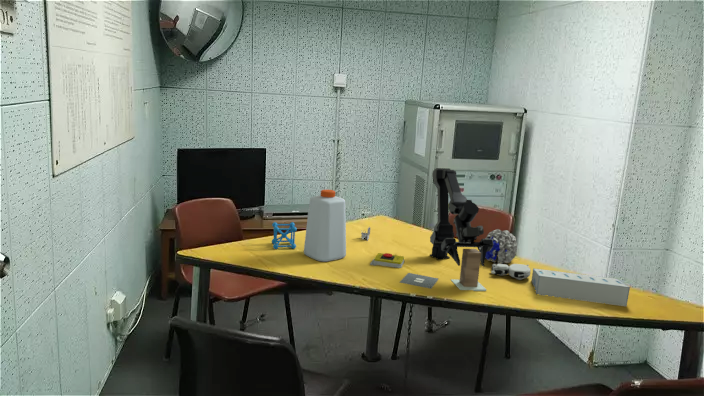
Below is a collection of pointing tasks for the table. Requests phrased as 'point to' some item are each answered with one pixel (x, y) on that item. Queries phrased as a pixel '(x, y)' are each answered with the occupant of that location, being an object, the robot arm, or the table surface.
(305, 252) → the plastic bottle
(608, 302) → the warehouse
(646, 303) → the table surface
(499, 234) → the educational model
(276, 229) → the molecular structure
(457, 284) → the pad
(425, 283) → the gray square plate
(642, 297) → the table surface
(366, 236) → the architectural model
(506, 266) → the robot toy
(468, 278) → the walnut block
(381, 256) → the emergency button
